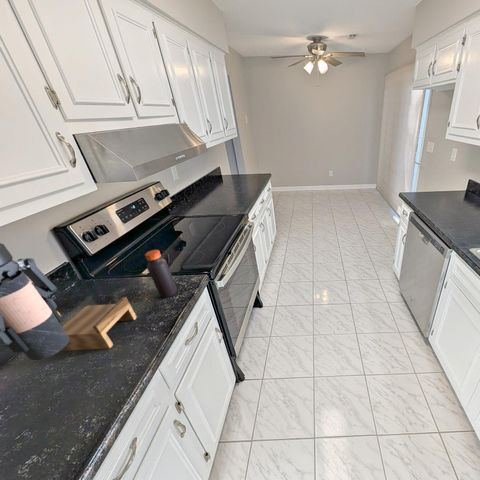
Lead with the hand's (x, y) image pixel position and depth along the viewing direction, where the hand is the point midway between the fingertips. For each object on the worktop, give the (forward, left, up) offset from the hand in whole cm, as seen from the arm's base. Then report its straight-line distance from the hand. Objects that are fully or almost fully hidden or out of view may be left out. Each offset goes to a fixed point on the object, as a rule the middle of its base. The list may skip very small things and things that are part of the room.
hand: (40, 335), depth 59 cm
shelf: (-14, +23, -23) cm, 36 cm away
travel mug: (0, 0, -4) cm, 4 cm away
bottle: (-1, +44, -23) cm, 50 cm away
